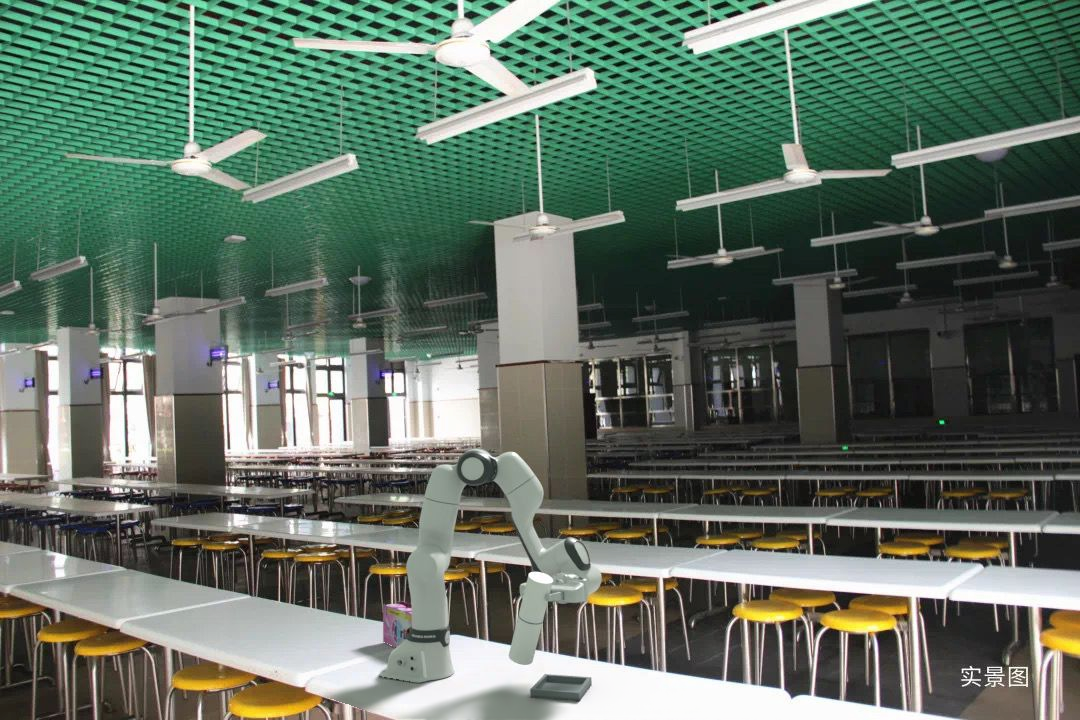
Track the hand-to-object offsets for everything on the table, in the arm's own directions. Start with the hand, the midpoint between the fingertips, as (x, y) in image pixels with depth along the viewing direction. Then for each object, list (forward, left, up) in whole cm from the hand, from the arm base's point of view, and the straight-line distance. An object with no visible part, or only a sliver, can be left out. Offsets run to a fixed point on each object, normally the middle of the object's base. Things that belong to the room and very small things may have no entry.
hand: (535, 596), depth 230 cm
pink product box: (-58, +36, -27) cm, 73 cm away
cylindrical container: (-6, +4, -18) cm, 20 cm away
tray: (+6, +3, -26) cm, 27 cm away
